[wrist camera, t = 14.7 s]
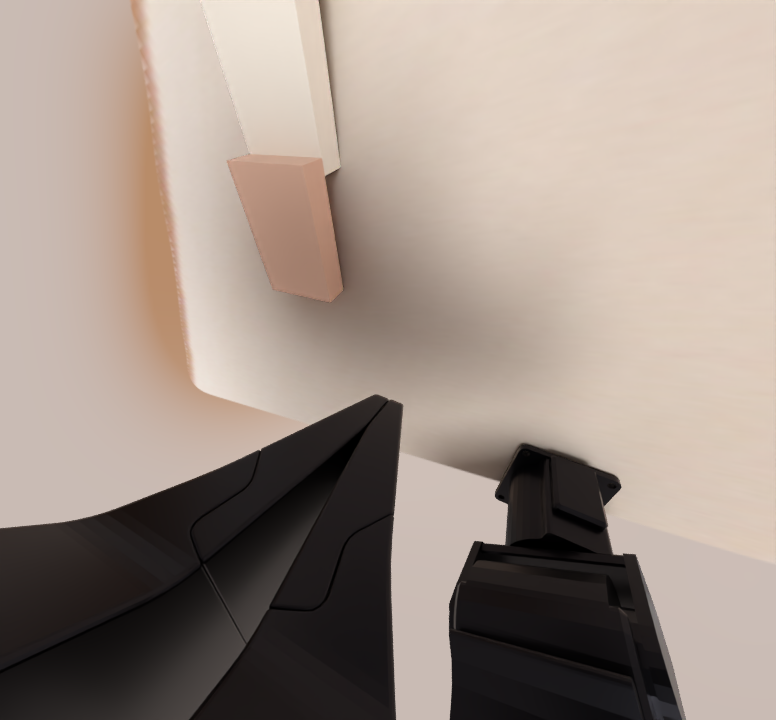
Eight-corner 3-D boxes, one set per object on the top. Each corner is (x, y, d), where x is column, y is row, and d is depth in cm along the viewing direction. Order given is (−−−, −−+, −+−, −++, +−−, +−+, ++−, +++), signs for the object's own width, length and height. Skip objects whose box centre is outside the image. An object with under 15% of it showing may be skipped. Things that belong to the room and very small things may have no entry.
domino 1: (324, 176, 16) (280, -85, 10) (254, 169, 17) (179, -62, 12) (340, 167, 17) (308, -73, 11) (273, 161, 19) (214, -53, 13)
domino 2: (330, 302, 20) (302, 165, 14) (272, 289, 21) (226, 160, 16) (343, 289, 21) (322, 157, 15) (287, 277, 23) (249, 154, 17)
